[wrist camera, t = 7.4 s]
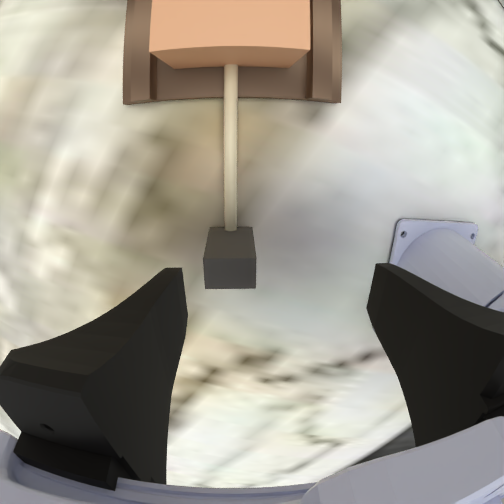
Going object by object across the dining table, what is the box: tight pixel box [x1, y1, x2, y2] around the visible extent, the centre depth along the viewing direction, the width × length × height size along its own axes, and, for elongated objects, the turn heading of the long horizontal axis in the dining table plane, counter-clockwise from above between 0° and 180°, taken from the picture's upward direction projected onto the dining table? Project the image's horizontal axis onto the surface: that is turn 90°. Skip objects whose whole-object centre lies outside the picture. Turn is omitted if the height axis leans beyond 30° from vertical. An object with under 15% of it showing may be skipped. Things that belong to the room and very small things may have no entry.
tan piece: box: [149, 0, 310, 289], centre depth 13 cm, size 16×6×5 cm, turn 179°
